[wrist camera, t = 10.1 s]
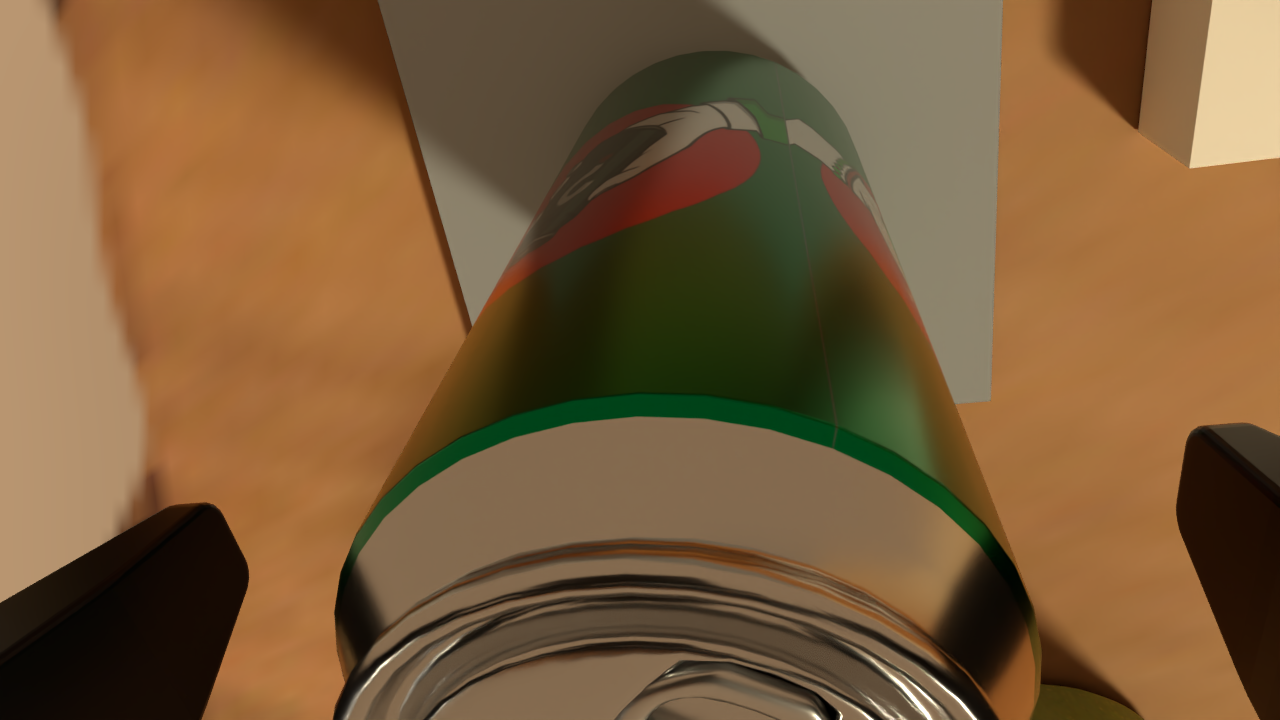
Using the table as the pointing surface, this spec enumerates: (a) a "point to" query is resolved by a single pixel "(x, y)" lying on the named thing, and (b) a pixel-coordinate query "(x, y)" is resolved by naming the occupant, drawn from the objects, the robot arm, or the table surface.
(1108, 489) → the table surface
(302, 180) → the table surface
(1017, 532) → the table surface
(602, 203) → the soda can
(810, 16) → the grey mat
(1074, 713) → the plant pot
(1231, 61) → the block
